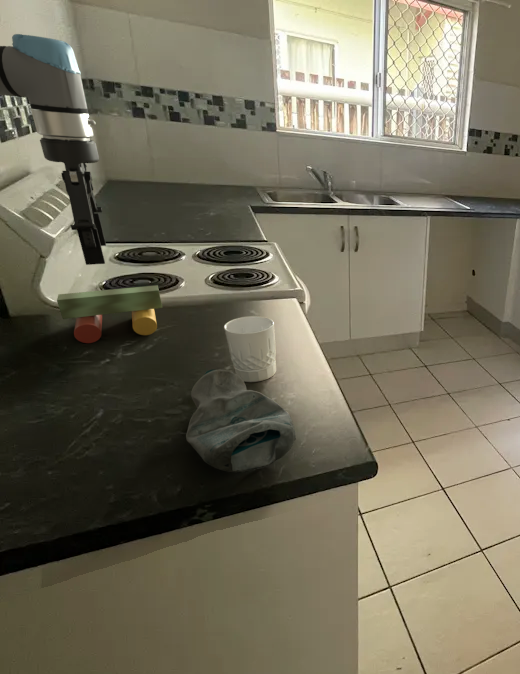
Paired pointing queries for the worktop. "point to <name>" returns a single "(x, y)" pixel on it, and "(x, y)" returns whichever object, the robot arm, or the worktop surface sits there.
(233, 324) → the white cup
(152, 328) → the yellow rod
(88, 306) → the green bar
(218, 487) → the worktop surface
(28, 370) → the worktop surface
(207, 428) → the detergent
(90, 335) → the red rod
